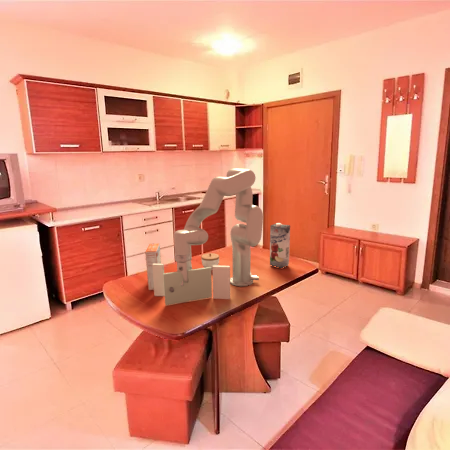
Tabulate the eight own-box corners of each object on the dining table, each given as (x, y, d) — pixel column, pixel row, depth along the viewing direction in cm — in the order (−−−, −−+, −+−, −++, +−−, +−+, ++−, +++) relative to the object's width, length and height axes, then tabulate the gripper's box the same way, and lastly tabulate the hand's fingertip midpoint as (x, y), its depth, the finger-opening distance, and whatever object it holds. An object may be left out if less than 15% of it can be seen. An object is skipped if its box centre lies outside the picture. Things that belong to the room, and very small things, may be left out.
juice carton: (276, 262, 200) (277, 220, 194) (290, 266, 192) (292, 222, 186) (267, 266, 193) (268, 222, 187) (282, 270, 186) (283, 225, 180)
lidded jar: (197, 269, 190) (197, 254, 188) (208, 264, 198) (208, 249, 196) (212, 272, 184) (212, 257, 182) (222, 267, 193) (222, 252, 190)
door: (211, 296, 152) (210, 266, 149) (212, 298, 150) (212, 268, 147) (165, 304, 145) (163, 273, 142) (166, 307, 143) (164, 275, 139)
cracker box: (151, 279, 175) (148, 243, 170) (162, 279, 175) (160, 242, 170) (147, 290, 161) (144, 251, 156) (159, 290, 161) (157, 250, 157)
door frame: (230, 297, 152) (230, 265, 149) (229, 299, 151) (229, 267, 147) (155, 294, 157) (153, 263, 153) (154, 295, 155) (152, 264, 151)
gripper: (187, 262, 139) (189, 301, 143) (194, 251, 153) (196, 286, 158) (170, 262, 140) (173, 300, 144) (179, 251, 154) (182, 286, 159)
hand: (185, 293), depth 151 cm, fingers closed
